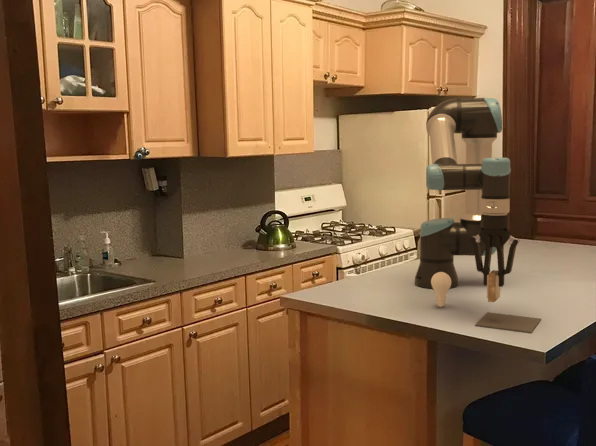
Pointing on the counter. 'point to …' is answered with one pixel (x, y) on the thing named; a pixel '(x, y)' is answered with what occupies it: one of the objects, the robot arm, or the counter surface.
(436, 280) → the lightbulb
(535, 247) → the counter surface
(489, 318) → the mat
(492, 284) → the wooden block
